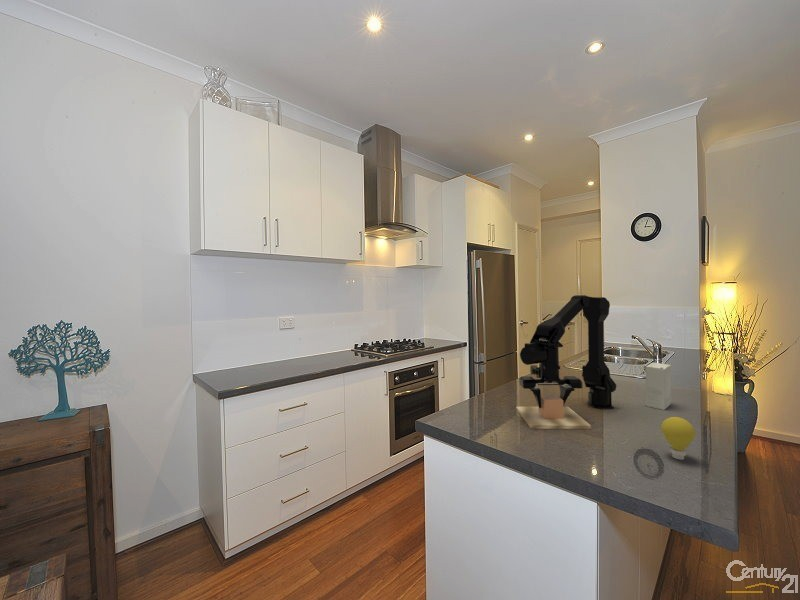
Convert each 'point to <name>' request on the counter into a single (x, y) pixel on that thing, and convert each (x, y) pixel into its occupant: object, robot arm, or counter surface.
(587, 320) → the robot arm
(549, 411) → the tan cardboard-like cube
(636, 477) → the counter surface
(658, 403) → the skincare box
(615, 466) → the counter surface
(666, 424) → the light bulb
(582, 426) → the post base
